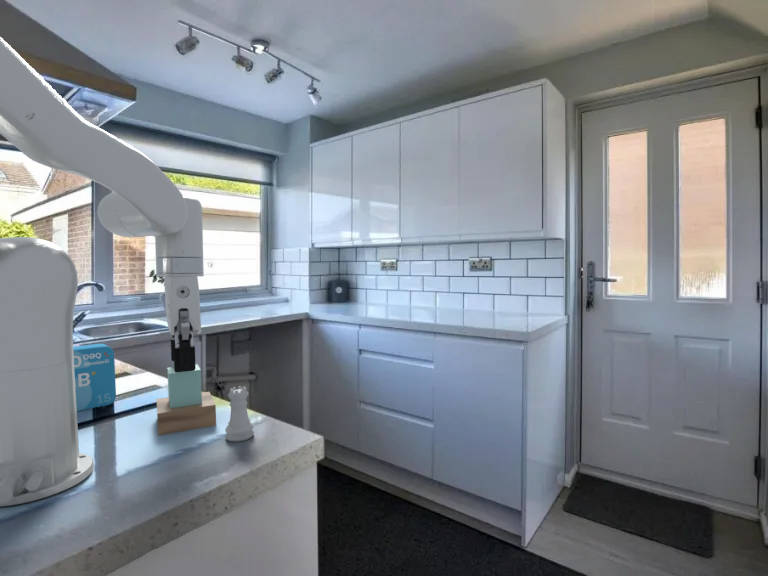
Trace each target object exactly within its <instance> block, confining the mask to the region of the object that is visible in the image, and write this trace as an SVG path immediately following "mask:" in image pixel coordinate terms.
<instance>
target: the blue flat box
mask: <svg viewBox="0 0 768 576" xmlns="http://www.w3.org/2000/svg"><path fill="white" fill-rule="evenodd" d="M73 353H74V370H75V389H76V407H77V412H80V411H81V410H82V411H85V410H86V409H87V410H91V409H90V408H92V409H96V408H95V407H97V408H101V406H102V407H107V406H110V405H111V404H113V403H114V402H115V400H116V398H117V387H116V367H115V351H114V349H112V347H110V346H108V345H107V344H104V343H94V344H86V345H85V344H84V345H78V346H77V345H76V346H73ZM82 411H81V412H82Z"/></svg>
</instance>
